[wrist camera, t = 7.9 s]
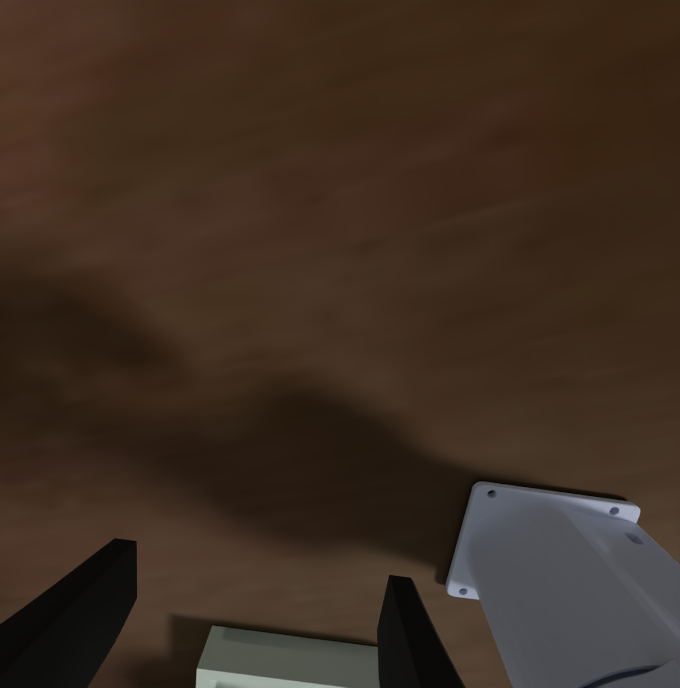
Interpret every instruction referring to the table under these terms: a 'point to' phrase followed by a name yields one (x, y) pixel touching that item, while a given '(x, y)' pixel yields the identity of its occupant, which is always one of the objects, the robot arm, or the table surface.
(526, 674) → the robot arm
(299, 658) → the tray
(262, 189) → the table surface
